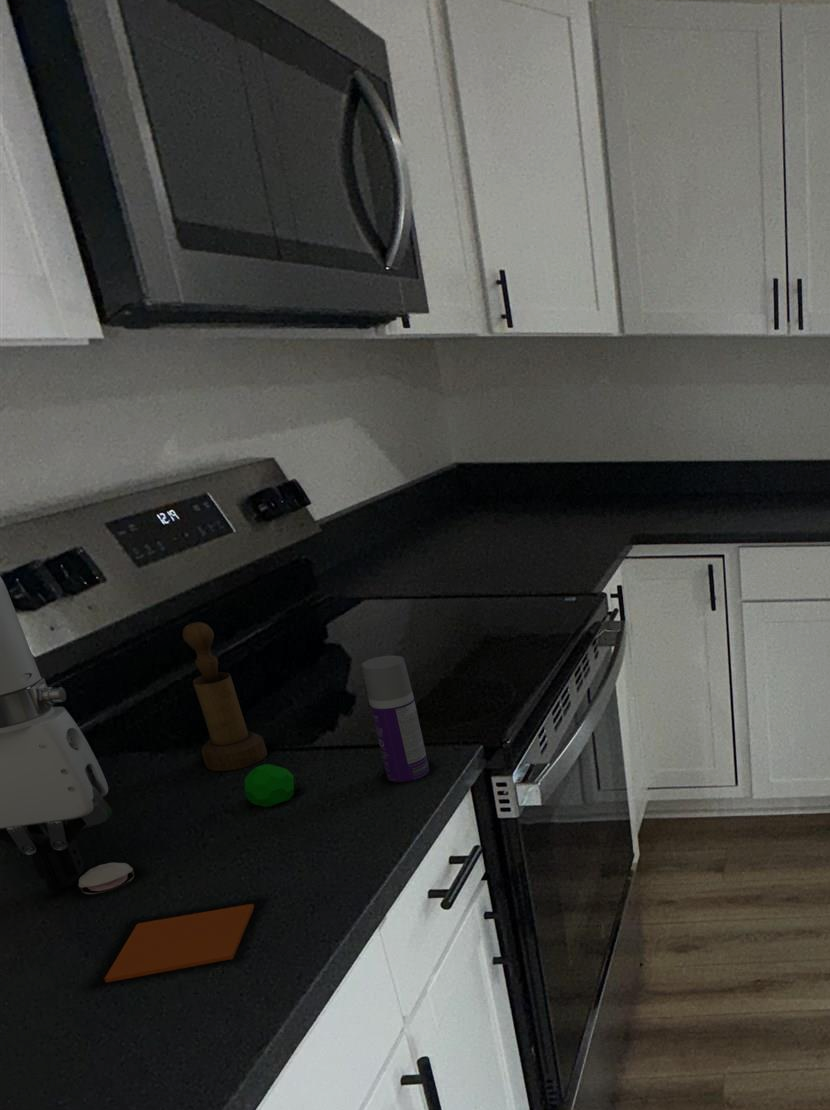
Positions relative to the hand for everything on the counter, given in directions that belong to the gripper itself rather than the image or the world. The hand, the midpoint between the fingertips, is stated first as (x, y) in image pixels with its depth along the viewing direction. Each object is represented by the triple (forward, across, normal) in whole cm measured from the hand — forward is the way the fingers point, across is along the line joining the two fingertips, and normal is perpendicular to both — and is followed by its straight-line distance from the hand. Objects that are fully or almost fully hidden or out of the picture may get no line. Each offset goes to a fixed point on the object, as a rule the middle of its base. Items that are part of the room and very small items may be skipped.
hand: (66, 880), depth 89 cm
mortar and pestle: (+2, -8, -28) cm, 30 cm away
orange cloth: (+1, -13, +14) cm, 19 cm away
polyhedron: (+1, -15, -14) cm, 20 cm away
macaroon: (+2, -3, 0) cm, 3 cm away
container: (+1, -29, -16) cm, 33 cm away
